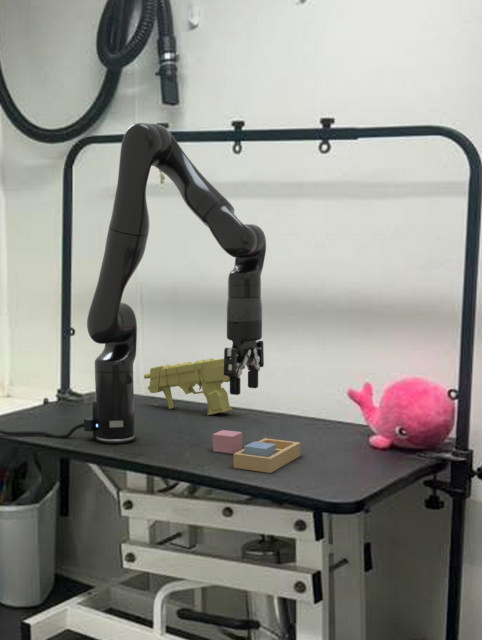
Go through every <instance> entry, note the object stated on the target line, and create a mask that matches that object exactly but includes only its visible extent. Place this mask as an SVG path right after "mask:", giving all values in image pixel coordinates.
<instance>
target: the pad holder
mask: <svg viewBox="0 0 482 640" xmlns="http://www.w3.org/2000/svg"><path fill="white" fill-rule="evenodd" d="M257 442H264V443H272V444H276V450H275V454H273V455H271V456H270V457H263V456H256V455H248V454H244V448H242V449H241V450H239V451H237V452H235V453H233V454H232V455H233V460H232V461H233V468H234V469H239V470H247V471H254V472H259V473H260V472H261V473H268V474H272V473H274V472H275V471H277V470H278V469H281V468H282V467H284V466H285V465H287V464H289V463H291V462H292V461H294V460H296V459H298V458H299V457H301V442H300V441H290V440H283V439H275V438H266V437H264V438H262V439H260V440H258V441H257Z"/></svg>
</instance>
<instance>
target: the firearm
mask: <svg viewBox="0 0 482 640" xmlns="http://www.w3.org/2000/svg"><path fill="white" fill-rule="evenodd" d="M229 368H230V366H229V365H228V370H229ZM242 374H243V371H242V372H241V375H242ZM143 378H144V379H145V380H147V379H149V385H148V386H147V390H148V391H149V393H151V394H156V393H163V394H164V397H165V399H166V402H167V406H168V410H170V409H171V410H172V409H174V408H175V406H174V401H173V396H172V389H171V388H174V387H179V388H180V389H181V390H182V391H183V392H184V394H185V395H188V394H193V395H198V394H203V395H204V397H205V398H206V402H207V408H208V411H207V413H206V416H210V415H215V414H219V413H225V412H228V411H231V410H233V406H230V401H229V395H228V391H226V389H225V388H224V387H222V385H223V383H230V377H228V376H226V375H224V357H223V358H219V359H218V358H217V359H215V358H212V357H211V358H206V359H199V360H195V361H194V362H191V361H187V362H181V363H175V364H164V365H159V366H154V367H151V368H150V369H149V373H148V372H147V373H144V374H143ZM196 385H198V386H199V388H198V391H196V390H195V389H194V387H195V386H196Z"/></svg>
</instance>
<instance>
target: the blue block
mask: <svg viewBox="0 0 482 640" xmlns="http://www.w3.org/2000/svg"><path fill="white" fill-rule="evenodd" d="M243 449H244V454H248V455H256V456H263V457H270V456H271V455H273V454H275V450H276V444H272V443H264V442H258V441H255V440H253V441H252V442H250V443H248V444H246V445H244V447H243Z"/></svg>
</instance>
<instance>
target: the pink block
mask: <svg viewBox="0 0 482 640" xmlns="http://www.w3.org/2000/svg"><path fill="white" fill-rule="evenodd" d="M242 449H243V431H235V430H226V429H221V430H219V431H217V432H214V433H212V452H215V453H224V454H231V455H233V454H234V453H236V452H238V451H240V450H242Z"/></svg>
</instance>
